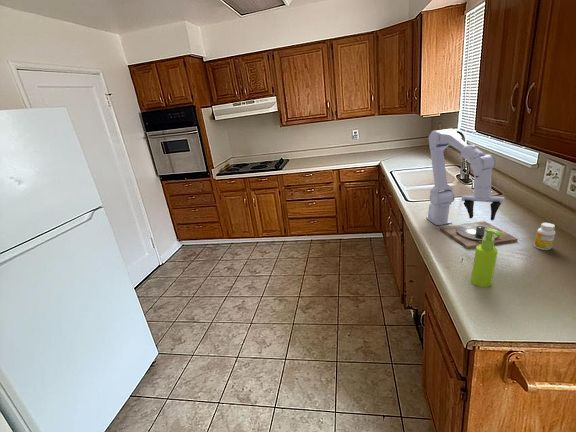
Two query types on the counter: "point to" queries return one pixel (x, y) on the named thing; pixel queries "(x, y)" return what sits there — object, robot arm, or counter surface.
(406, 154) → the counter surface
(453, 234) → the dial base
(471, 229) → the dial
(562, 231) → the counter surface
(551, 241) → the supplement bottle
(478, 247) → the soap dispenser
